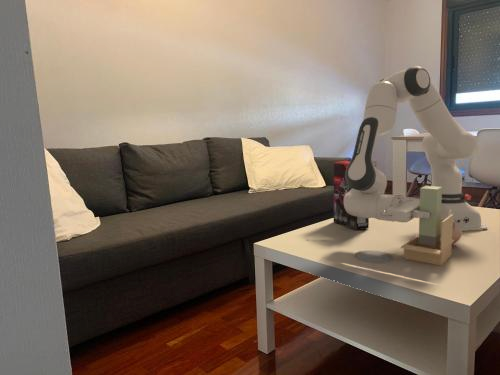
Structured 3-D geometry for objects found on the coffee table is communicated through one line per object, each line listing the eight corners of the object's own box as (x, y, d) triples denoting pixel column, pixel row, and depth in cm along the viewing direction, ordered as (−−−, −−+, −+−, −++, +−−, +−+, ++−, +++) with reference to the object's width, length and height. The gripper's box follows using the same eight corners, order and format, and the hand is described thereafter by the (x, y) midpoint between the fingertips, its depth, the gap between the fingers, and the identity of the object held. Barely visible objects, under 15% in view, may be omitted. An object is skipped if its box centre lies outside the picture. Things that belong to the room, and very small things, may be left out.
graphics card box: (332, 222, 177) (332, 161, 172) (345, 220, 179) (345, 160, 175) (356, 231, 161) (357, 164, 157) (370, 228, 164) (371, 163, 159)
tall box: (418, 243, 126) (420, 188, 123) (423, 239, 130) (425, 185, 127) (435, 246, 123) (437, 189, 120) (439, 242, 127) (442, 186, 124)
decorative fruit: (467, 248, 135) (468, 220, 133) (445, 250, 134) (446, 222, 132) (449, 241, 144) (450, 214, 142) (428, 242, 143) (429, 215, 141)
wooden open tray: (400, 262, 124) (401, 218, 122) (418, 248, 137) (419, 208, 135) (438, 269, 117) (440, 223, 115) (453, 254, 130) (455, 212, 128)
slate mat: (387, 252, 134) (387, 250, 134) (397, 264, 122) (397, 262, 122) (351, 252, 135) (351, 250, 135) (357, 264, 124) (357, 262, 123)
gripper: (377, 204, 125) (422, 209, 116) (400, 193, 140) (442, 197, 131) (377, 223, 126) (422, 230, 117) (400, 211, 141) (442, 215, 132)
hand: (433, 212), depth 124 cm, fingers closed on tall box, 5 cm apart
